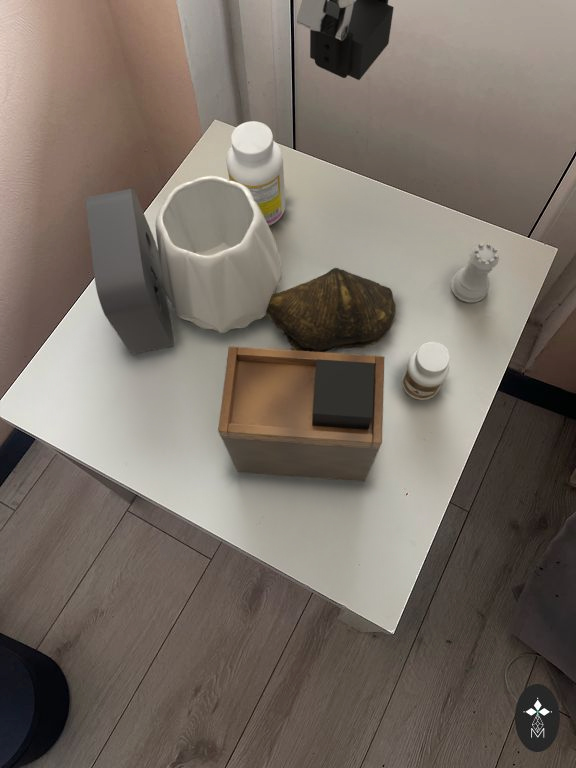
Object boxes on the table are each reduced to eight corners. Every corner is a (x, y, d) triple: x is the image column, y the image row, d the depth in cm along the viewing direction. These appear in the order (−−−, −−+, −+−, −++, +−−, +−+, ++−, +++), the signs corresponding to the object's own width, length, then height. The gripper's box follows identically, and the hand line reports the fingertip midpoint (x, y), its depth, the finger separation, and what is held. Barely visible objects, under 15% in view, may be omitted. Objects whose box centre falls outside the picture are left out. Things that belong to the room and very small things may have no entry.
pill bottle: (396, 393, 70) (406, 367, 63) (408, 360, 72) (419, 331, 65) (433, 406, 70) (448, 382, 62) (444, 373, 71) (460, 345, 64)
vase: (256, 358, 72) (244, 295, 58) (150, 319, 74) (113, 250, 60) (300, 262, 77) (298, 182, 63) (198, 228, 79) (174, 143, 65)
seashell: (389, 274, 75) (400, 254, 68) (400, 345, 74) (413, 332, 67) (257, 290, 75) (255, 272, 68) (266, 362, 74) (265, 351, 67)
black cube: (339, 22, 55) (342, -16, 51) (388, 44, 53) (394, 6, 50) (309, 58, 53) (309, 21, 50) (359, 80, 52) (362, 45, 49)
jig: (367, 411, 70) (384, 356, 55) (365, 481, 67) (382, 443, 52) (245, 403, 70) (228, 345, 56) (237, 472, 68) (217, 431, 53)
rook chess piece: (493, 283, 75) (514, 246, 68) (476, 310, 74) (496, 276, 66) (460, 266, 76) (477, 228, 69) (443, 293, 75) (459, 257, 67)
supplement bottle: (245, 182, 82) (235, 107, 70) (292, 195, 81) (290, 121, 69) (227, 221, 79) (213, 152, 67) (275, 235, 78) (269, 167, 66)
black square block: (370, 377, 56) (374, 362, 52) (368, 430, 54) (372, 418, 51) (315, 373, 56) (316, 358, 53) (312, 426, 54) (312, 413, 51)
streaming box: (80, 186, 64) (128, 176, 64) (119, 260, 78) (159, 252, 78) (93, 305, 59) (146, 294, 59) (133, 362, 73) (176, 354, 73)
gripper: (386, -304, 39) (362, -26, 56) (235, -161, 34) (259, 95, 51) (493, -272, 38) (435, 4, 55) (349, -118, 33) (335, 132, 50)
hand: (349, 46), depth 53 cm, fingers closed on black cube, 5 cm apart
